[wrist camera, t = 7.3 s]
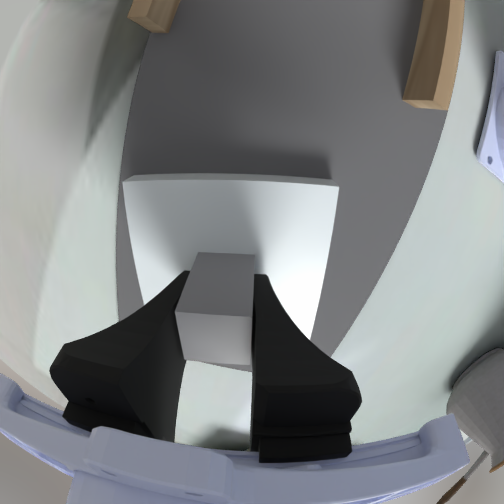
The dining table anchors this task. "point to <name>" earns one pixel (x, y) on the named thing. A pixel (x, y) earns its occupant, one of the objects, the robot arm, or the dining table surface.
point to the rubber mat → (289, 124)
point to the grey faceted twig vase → (480, 410)
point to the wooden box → (424, 59)
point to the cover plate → (230, 250)
